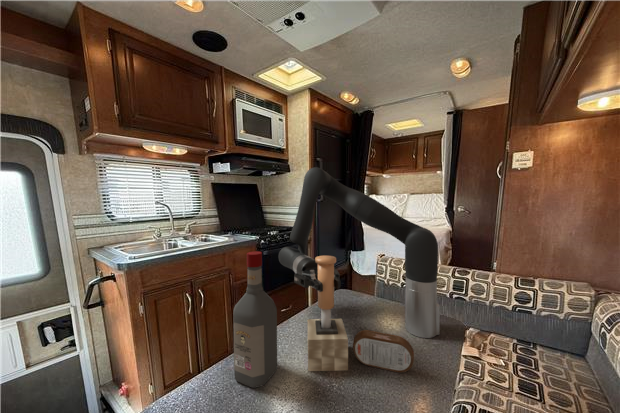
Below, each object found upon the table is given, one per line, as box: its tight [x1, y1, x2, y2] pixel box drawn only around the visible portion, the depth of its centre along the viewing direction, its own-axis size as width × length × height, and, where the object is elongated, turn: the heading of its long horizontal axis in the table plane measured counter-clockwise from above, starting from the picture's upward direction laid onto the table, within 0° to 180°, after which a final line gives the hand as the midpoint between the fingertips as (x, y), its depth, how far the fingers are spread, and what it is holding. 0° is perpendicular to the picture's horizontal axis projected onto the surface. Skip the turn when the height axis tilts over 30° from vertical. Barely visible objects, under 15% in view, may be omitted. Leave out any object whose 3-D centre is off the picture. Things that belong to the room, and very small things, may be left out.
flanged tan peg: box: [314, 255, 337, 329], centre depth 63 cm, size 6×6×21 cm
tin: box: [352, 329, 415, 374], centre depth 60 cm, size 15×3×8 cm, turn 71°
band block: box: [307, 318, 349, 372], centre depth 64 cm, size 10×10×9 cm
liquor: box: [232, 250, 278, 389], centre depth 58 cm, size 9×9×30 cm
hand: (330, 286), depth 61 cm, fingers closed on flanged tan peg, 4 cm apart
